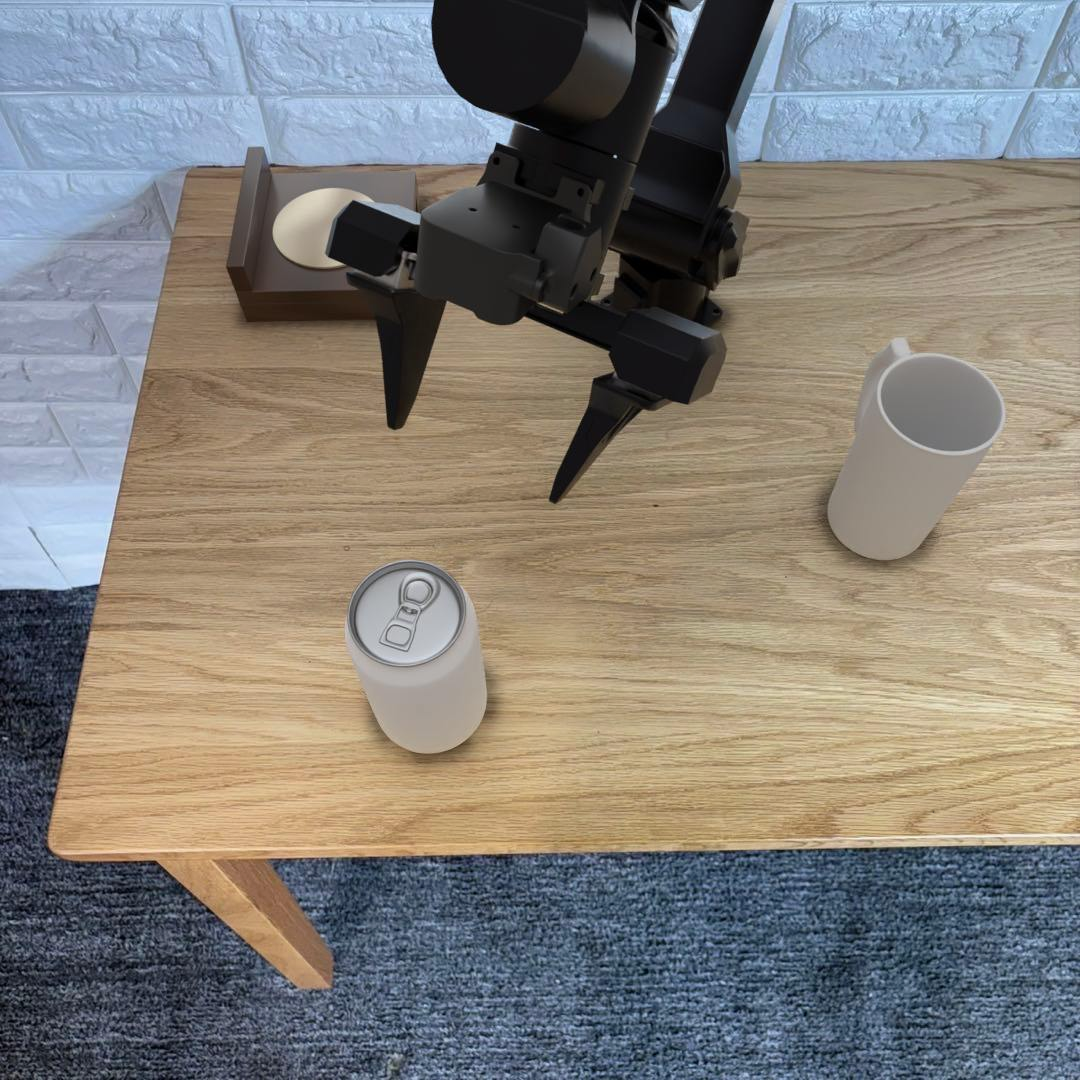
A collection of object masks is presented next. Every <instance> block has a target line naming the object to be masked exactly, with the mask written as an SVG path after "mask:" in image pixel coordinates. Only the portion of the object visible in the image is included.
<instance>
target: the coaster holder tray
mask: <svg viewBox="0 0 1080 1080" xmlns="http://www.w3.org/2000/svg"><path fill="white" fill-rule="evenodd" d="M418 186H419V185H418V180H417V173H416V171H415V170H390V171H389V170H387V171H386V170H384V171H383V170H382V171H381V170H379V171H378V170H377V171H329V172H328V171H327V172H325V171H322V172H320V171H319V172H318V171H317V172H272V170H271V166H270V164H269V160H268V157H267V153H266V149H265V147H264V146H248V147H247V150H246V156H245V160H244V165H243V171H242V177H241V182H240V187H239V193H238V199H237V204H236V210H235V214H234V215H235V216H234V221H233V225H232V232H231V236H230V241H229V248H228V253H227V259H226V264H225V268H226V271H227V274H228V276H229V280H230V281H231V284H232V287H233V289H234V291H235V295H236V298H237V300H238V304H239V305H240V306H239V307H240V309H241V311H242V313H243V317H244V319H245V321H246V322H277V321H278V322H281V321H282V322H283V321H286V322H287V321H336V320H337V321H338V320H339V321H340V320H343V321H344V320H375V316H374V314H373V312H372V310H371V308H370V307H369V305H368V303H367V301H366V300H365V298H364V296H363V295H362V293H361V292H360V290H358V289H357V288H355V287H353V286H351V285H349V284H348V283H347V280H346V272H355V268H352V267H350V266H347V265H345V264H343V263H340V262H338V261H335V260H333V259H331V258H328V257H327V255H326V254H325V251H326V247H327V243H328V238H329V234H330V230H331V226H332V222H333V219H334V218H335V217H336V216H337V214H338V213H339V212H340V211H341V210H342V208H343V207H345V206H346V205H347V204H348V203H350V202H351V201H352V200H359V201H367V202H376V203H384V204H392V205H399V206H402V207H404V208H407V209H409V210H412V211H414V212H417V213H419V214H420V203H421V200H420V194H419V187H418Z"/></svg>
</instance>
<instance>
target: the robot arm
mask: <svg viewBox="0 0 1080 1080" xmlns="http://www.w3.org/2000/svg"><path fill="white" fill-rule="evenodd" d="M787 1H788V0H433V4H432V13H431V20H430V28H431V29H430V30H431V45H432V48H433V50H434V51H433V52H434V55H435V59H436V62H437V65H438V67H439V69H440V71H441V73H442V75H443V77H444V79H445V81H446V82H447V84H448V85H449V86H450V87H451V88H452V90H453V91H454V92H456V94H457V95H458V96H459V97H460V98H461V99H463V100H465V101H466V102H467V103H469V104H470V105H472V106H474V107H475V108H478V109H480V110H482V111H485V112H489V113H491V114H494V115H497V116H500V117H502V118H505V119H508V120H510V121H513V125H512V129H511V132H510V135H509V139H508V142H507V144H504V143H501V142H497V141H495V145H494V148H493V151H492V152H491V153H490V155H489V156H488V159H487V163H486V165H485V170H484V172H483V174H482V175H481V177H480V179H479V180H478V182H477V183H476V185H475V186H467V187H463V188H460V189H459V190H457V191H455V192H453V193H451V194H449V195H448V196H445V197H443V198H442V199H439V200H438V201H436V202H434V203H433V204H430V205H429V206H427V207H426V208H424V209H422V211H421V213H420V212H419V213H417V212H414V211H412V210H409V209H407V208H404V207H402V206H399V205H392V204H384V203H376V202H367V201H359V200H352V201H351V202H350V203H348V204H347V205H346V206H345V207H343V208H342V210H341V211H340V212H339V213H338V214H337V216H336V217H335V218H334V219H333V222H332V226H331V230H330V234H329V238H328V243H327V247H326V251H325V254H326V255H327V257H328V258H331V259H333V260H335V261H338V262H340V263H343V264H345V265H347V266H350V267H352V268H355V272H346V280H347V283H348V284H349V285H351V286H353V287H355V288H357V289H358V290H360V292H361V293H362V295H363V296H364V298H365V300H366V301H367V303H368V305H369V307H370V308H371V310H372V312H373V314H374V316H375V319H374V320H375V324H376V329H377V334H378V335H377V336H378V340H379V346H380V354H381V367H382V379H383V391H384V403H385V415H386V424H387V428H388V429H389V430H392V431H398V430H400V429H403V428H404V427H405V425H406V423H407V420H408V418H409V416H410V414H411V412H412V409H413V407H414V404H415V402H416V399H417V397H418V394H419V390H420V387H421V385H422V382H423V378H424V376H425V372H426V368H427V366H428V362H429V359H430V356H431V353H432V350H433V346H434V344H435V340H436V338H437V334H438V330H439V328H440V325H441V321H442V319H443V315H444V313H445V309H446V306H447V303H448V302H449V303H450V304H453V305H456V306H457V307H460V308H463V309H466V310H467V311H470V312H472V313H473V314H474V315H475V317H476V318H477V319H478V320H480V321H483V322H485V323H488V324H490V325H496V326H511V325H514V324H515V325H516V324H517V323H518V322H520V321H521V320H522V319H523V318H527V319H529V320H531V321H534V322H536V323H539V324H541V325H543V326H546V327H548V328H551V329H553V330H556V331H558V332H561V333H563V334H566V335H568V336H570V337H573V338H576V339H577V340H580V341H583V342H585V343H587V344H590V345H591V346H595V347H597V348H599V349H602V350H604V351H607V352H608V357H609V360H610V362H611V364H612V367H613V369H614V371H612V372H608V373H605V374H602V375H598V376H595V377H593V379H592V382H591V388H590V391H589V392H590V393H589V398H588V404H587V407H586V409H585V411H584V414H583V416H582V418H581V420H580V422H579V425H578V426H577V429H576V431H575V433H574V435H573V437H572V439H571V441H570V443H569V446H568V448H567V450H566V452H565V454H564V456H563V458H562V461H561V463H560V465H559V468H558V469H557V472H556V474H555V476H554V481H553V484H552V487H551V491H550V492H549V493H550V494H549V497H548V502H549V503H551V504H553V505H557V504H558V503H560V502H562V500H564V498H565V497H566V496H567V495H568V493H570V492H571V490H572V489H573V488H574V486H576V484H577V483H578V482H579V481H580V480H581V478H582V477H583V476H584V475H585V474H586V472H587V471H588V470H589V469H590V467H591V466H592V465H593V464H594V463H595V461H596V460H597V459H598V458H599V457H600V456H601V454H602V453H603V452H604V451H605V450H606V449H607V447H608V446H609V445H610V444H611V443H612V441H613V440H614V439H615V438H616V437H617V436H618V435H619V434H620V433H621V431H622V430H623V429H624V428H625V427H626V426H627V425H629V424H630V423H631V422H632V421H633V420H634V419H635V418H636V417H637V416H638V415H639V414H640V413H641V412H642V411H650V412H655V411H658V410H660V409H662V408H664V407H666V406H668V405H670V404H672V403H678V404H682V405H686V406H689V405H691V404H692V403H694V402H696V401H698V400H699V399H702V398H703V397H705V396H707V395H709V394H711V393H712V392H713V391H714V388H715V385H716V383H717V380H718V378H719V376H720V373H721V371H722V368H723V365H724V363H725V361H726V356H727V352H728V347H727V345H726V341H725V339H724V335H723V333H722V332H721V331H718V330H715V329H713V328H710V327H712V325H714V324H716V323H718V321H719V322H720V320H721V319H722V318H723V315H724V311H723V309H722V308H721V307H720V306H719V305H718V304H717V303H715V302H714V301H713V300H712V299H711V298H710V293H711V292H715V291H716V289H717V288H718V286H719V284H721V282H722V281H725V280H726V279H730V278H731V279H732V278H734V277H736V276H737V274H738V273H739V272H740V268H741V264H742V259H743V256H744V255H743V254H744V248H743V246H744V245H745V242H746V240H747V234H746V232H747V230H748V227H749V224H750V217H747V216H746V215H744V214H743V213H741V212H740V211H738V210H736V209H735V207H736V204H737V201H738V199H739V195H740V192H741V189H742V178H741V177H742V176H741V168H740V161H739V154H738V148H737V140H736V133H737V130H738V127H739V125H740V122H741V119H742V117H743V114H744V112H745V109H746V106H747V103H748V101H749V99H750V96H751V93H752V91H753V89H754V86H755V83H756V80H757V78H758V76H759V73H760V71H761V68H762V65H763V63H764V60H765V58H766V55H767V52H768V50H769V48H770V45H771V42H772V40H773V37H774V34H775V33H776V31H777V30H776V29H777V27H778V24H779V22H780V19H781V16H782V15H783V12H784V9H785V6H786V3H787ZM701 3H702V5H701V7H700V9H699V13H698V14H697V18H696V21H695V24H694V26H693V29H692V32H691V35H690V37H689V40H688V43H687V44H686V45H687V46H686V48H685V50H684V53H683V56H682V59H681V62H680V64H679V68H678V69H677V73H676V76H675V78H674V81H673V84H672V87H671V89H670V91H669V94H668V97H667V99H666V102H665V103H664V104H663V105H662V106H661V107H660V108H659V109H657V108H658V105H659V102H660V101H661V100H660V99H661V96H662V93H663V90H664V88H665V85H666V82H667V79H668V77H669V73H670V72H671V71H670V70H671V67H672V65H673V63H674V62H676V60H677V58H678V56H679V51H680V37H679V33H678V32H677V29H676V27H675V25H674V21H673V18H672V7H673V8H676V9H680V10H683V11H686V12H688V13H692V12H693V11H694V10H695V9H696V8H697V7H698V6H699V5H700V4H701ZM615 156H616V157H615ZM608 251H611V252H613V253H616V254H618V255H619V261H618V270H617V271H618V272H617V276H615V277H614V280H613V291H612V292H611V293H609V294H607V295H605V296H603V297H602V298H601V299H600V302H597V301H594V300H592V297H596V296H599V294H600V291H601V288H602V285H603V283H604V280H605V276H606V275H605V274H604V273H601V271H602V268H603V266H604V263H605V260H606V257H607V253H608Z"/></svg>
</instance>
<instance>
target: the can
mask: <svg viewBox="0 0 1080 1080" xmlns="http://www.w3.org/2000/svg"><path fill="white" fill-rule="evenodd" d="M346 612H347V613H346V617H345V621H344V640H345V647H346V650H347V652H348V655H349V658H350V661H351V663H352V665H353V667H354V670H355V672H356V675H357V677H358V680H359V682H360V685H361V686H362V688H363V692H364V694H365V697H366V698H367V700H368V702H369V704H370V707H371V709H372V710H371V711H372V712H373V715H374V716H375V719H376V721H377V723H378V724H379V726H380V729H381V730H382V732H383V733H384V734H385V735H386V736H387V737H388V739H389V740H391V742H392V743H394V744H396V745H397V746H399V747H400V748H402V749H404V750H406V751H410V752H413V753H417V754H428V755H429V754H439V753H442V752H446V751H449V750H452V749H453V748H454V749H455V748H456V747H458V746H459V745H461V744H463V743H465V742H466V740H468V739H470V737H471V736H472V735H473V734H474V733H475V731H476V730H477V729H478V728H479V726H480V724H481V722H482V720H483V718H484V715H485V713H486V709H487V704H488V703H487V702H488V692H487V691H488V689H487V680H486V673H485V667H484V666H485V665H484V658H483V651H482V643H481V638H480V637H481V636H480V630H479V624H478V618H477V613H476V609H475V607H474V604H473V602H472V599H471V598H470V596H469V594H468V592H467V591H466V590H465V588H463V586H462V585H461V584H460V583H459V582H458V581H457V579H456V578H455V577H454V576H453V575H452V574H451V573H450V572H448V571H447V570H446V569H445V568H443V567H441V566H440V565H438V564H435V563H433V562H430V561H426V560H422V559H411V558H409V559H399V560H394V561H391V562H389V563H385V564H383V565H381V566H379V567H377V568H375V569H374V570H372V571H371V572H370V573H368V574H367V575H365V577H364V578H363V579H362V580H361V581H360V582H359V583H358V584H357V586H356V587H355V588H354V590H353V592H352V594H351V597H350V599H349V602H348V606H347V611H346Z"/></svg>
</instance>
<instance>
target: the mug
mask: <svg viewBox="0 0 1080 1080" xmlns="http://www.w3.org/2000/svg"><path fill="white" fill-rule="evenodd" d="M856 406H857V407H856V412H855V417H854V422H853V430H854V433H855V436H854V439H853V441H852V444H851V446H850V448H849V451H848V453H847V455H846V456H845V457H846V458H845V460H844V463H843V464H842V467H841V469H840V472H839V474H838V476H837V479H836V482H835V484H834V487H833V489H832V492H831V494H830V496H829V499H828V502H827V503H828V504H827V509H826V510H827V511H826V512H827V513H826V514H827V520H828V524H829V526H830V529H831V531H832V532H833V534H834V535H835V537H836V539H838V540H839V541H840V543H841V544H843V546H845V547H846V548H847V549H849V550H850V551H852V552H853V553H855V554H857V555H859V556H861V557H864V558H867V559H871V560H877V561H893V560H898V559H901V558H903V557H907V556H909V555H910V554H912V553H913V552H915V550H917V549H918V548H919V547H920V546H921V544H922V543H923V542H924V541H925V539H926V538H927V536H928V535H929V534H930V533H931V532H932V531H933V528H935V526H936V525H937V524H938V522H939V521H940V519H941V518H942V517H943V515H944V514H945V513H946V511H947V509H948V508H949V506H950V505H951V504H952V503H953V501H954V499H955V498H956V497H957V495H958V494H959V493H960V491H961V490H962V488H963V487H964V486H965V485H966V483H967V482H968V480H969V479H970V478H971V476H972V475H973V473H974V472H975V471H976V470H977V468H978V466H979V465H980V464H981V462H982V461H983V460H984V458H985V457H986V455H987V454H988V453H989V451H990V449H991V448H992V446H993V445H994V443H995V442H996V440H997V439H998V438H999V437H1000V435H1001V434H1002V433H1003V430H1004V429H1005V428H1004V427H1005V424H1006V421H1007V420H1006V419H1007V410H1006V403H1005V401H1004V398H1003V395H1002V394H1001V391H1000V390H999V387H997V385H996V384H995V383H994V381H992V379H991V378H990V377H989V376H988V375H987V374H986V373H985V372H983V371H982V370H981V369H979V368H978V367H976V366H975V365H973V364H972V363H970V362H968V361H966V360H963V359H961V358H958V357H956V356H952V355H948V354H943V353H937V352H936V353H935V352H920V353H914V354H912V350H911V348H910V346H909V343H908V340H907V338H906V337H895V338H892V339H891V340H890V341H889V343H888V345H886V346H885V347H883V348H882V349H880V351H878V352H877V353H876V354H875V355H874V356H873V358H872V359H871V361H870V363H869V365H868V367H867V369H866V372H865V375H864V378H863V381H862V384H861V389H860V391H859V396H858V401H857V405H856Z"/></svg>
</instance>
